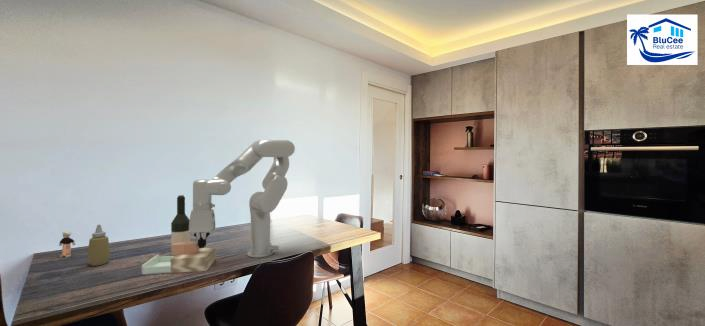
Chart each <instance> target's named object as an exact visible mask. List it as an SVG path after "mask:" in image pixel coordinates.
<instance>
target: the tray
mask: <svg viewBox="0 0 705 326" xmlns="http://www.w3.org/2000/svg"><path fill="white" fill-rule="evenodd" d="M172 257H174V256H171V255H166V256H165V255H164V256H162V255H161V256H160V254H156V255H155V256H154V257H152V258H150V259H149V260H147V261H146V262H145V263H142V264H141V275H143V276H144V275H145V276H146V275H161V274H162V273H163V274H172V273H171V258H172Z"/></svg>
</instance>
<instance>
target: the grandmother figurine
mask: <svg viewBox="0 0 705 326" xmlns="http://www.w3.org/2000/svg"><path fill="white" fill-rule="evenodd" d="M72 234H73V233H72V232H71V231H69V230H64V231H62V237H63V238H61V239H60V240H59V244H58V246H59V247H62V249H61V250H62V251H61V255H59V258H64V257H65V258H68V257H71V256H73V255H72V247H71V244H72V246H75V245H76V241H75V240H74V239H73V238H71V237H70V236H71V235H72Z"/></svg>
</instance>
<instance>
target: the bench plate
mask: <svg viewBox="0 0 705 326" xmlns="http://www.w3.org/2000/svg"><path fill="white" fill-rule="evenodd" d="M216 248H217V247H215V246H213V247H204V248H199V252H198V253H197V254H186V255H175V256H174V257H172V258H171V273H170V274H177V273H178V274H179V273H191V272H207V271H208V269H209V268H210V267H211V266H212V265H213V264H214V262H215V261H216V258H217V257H216V252H217V251H216Z"/></svg>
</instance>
